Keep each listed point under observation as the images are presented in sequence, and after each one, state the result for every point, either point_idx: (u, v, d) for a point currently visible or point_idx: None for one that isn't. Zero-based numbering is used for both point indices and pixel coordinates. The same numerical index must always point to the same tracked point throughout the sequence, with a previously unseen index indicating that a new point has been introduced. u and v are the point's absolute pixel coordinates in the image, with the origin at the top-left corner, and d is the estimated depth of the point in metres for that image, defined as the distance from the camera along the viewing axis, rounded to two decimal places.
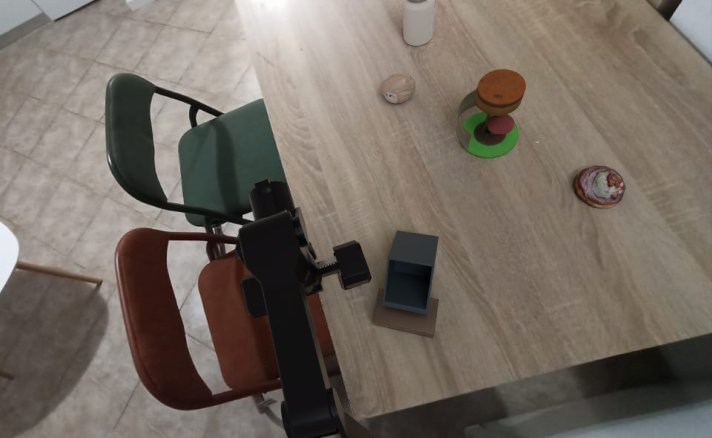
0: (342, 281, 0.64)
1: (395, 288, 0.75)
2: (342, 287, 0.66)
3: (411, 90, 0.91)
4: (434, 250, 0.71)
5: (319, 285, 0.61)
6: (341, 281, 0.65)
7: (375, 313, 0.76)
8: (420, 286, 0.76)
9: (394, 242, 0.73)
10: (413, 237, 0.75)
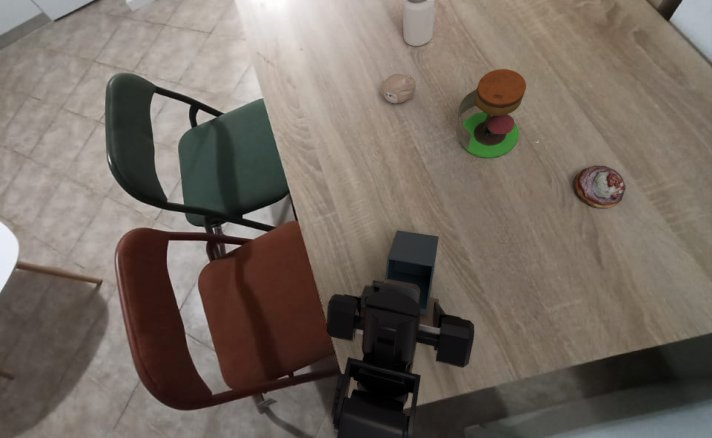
0: None
1: None
2: None
3: (411, 90, 0.91)
4: (434, 250, 0.71)
5: None
6: None
7: None
8: (420, 286, 0.76)
9: (394, 242, 0.73)
10: (413, 237, 0.75)
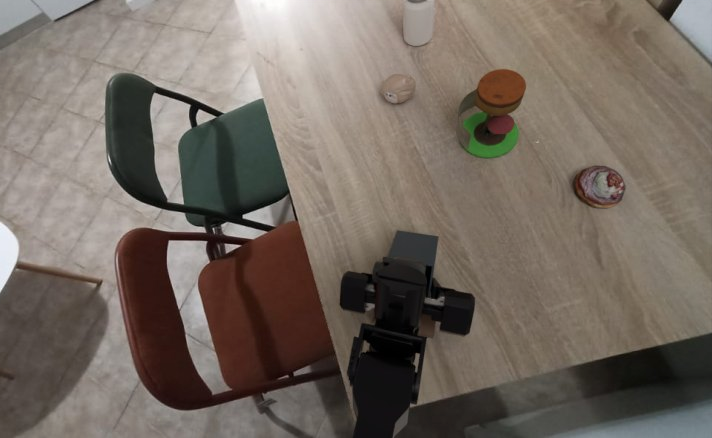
0: None
1: None
2: None
3: (411, 90, 0.91)
4: (434, 250, 0.71)
5: None
6: None
7: None
8: None
9: (394, 242, 0.74)
10: (413, 237, 0.75)
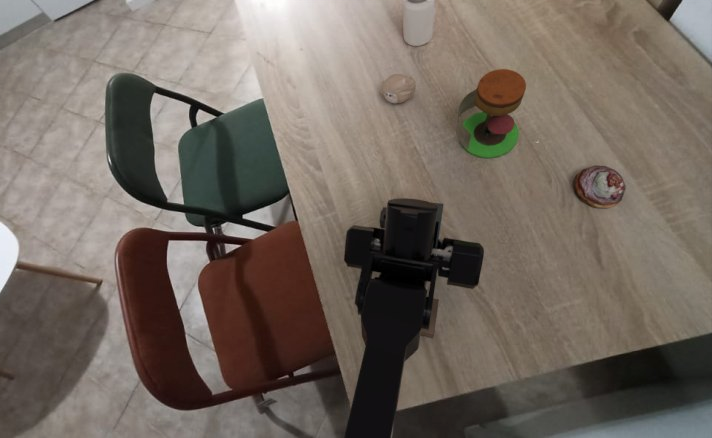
0: (439, 267, 0.64)
1: None
2: None
3: (411, 90, 0.91)
4: (440, 211, 0.70)
5: None
6: None
7: None
8: None
9: None
10: None
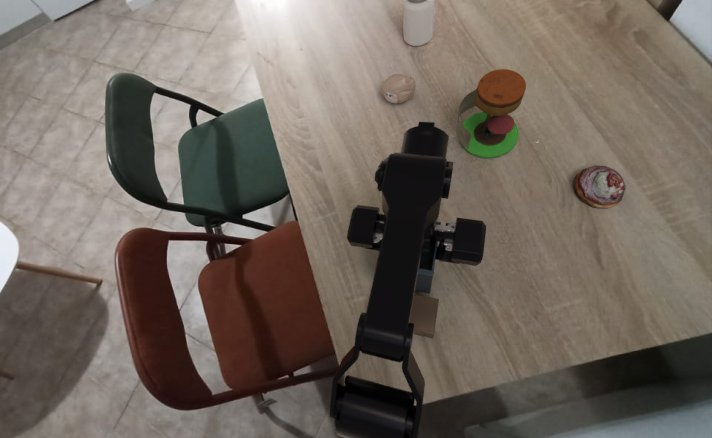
0: (442, 251, 0.63)
1: None
2: (437, 257, 0.66)
3: (411, 90, 0.91)
4: None
5: (427, 244, 0.61)
6: (440, 251, 0.65)
7: None
8: None
9: None
10: None
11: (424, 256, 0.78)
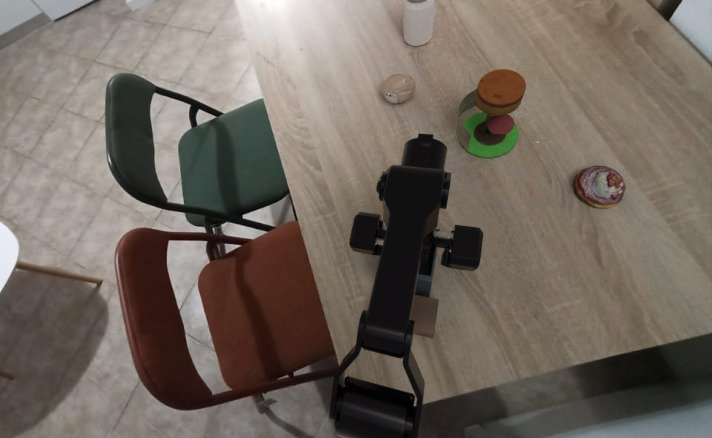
0: (447, 258, 0.66)
1: None
2: (443, 264, 0.68)
3: (411, 90, 0.91)
4: None
5: (426, 251, 0.63)
6: (446, 258, 0.67)
7: None
8: None
9: None
10: None
11: (424, 261, 0.80)
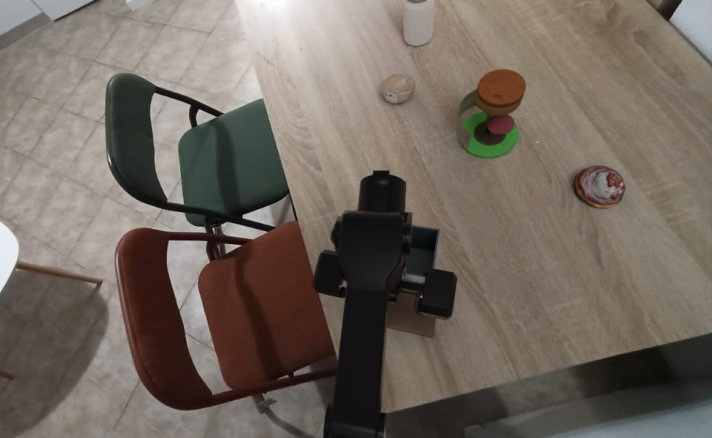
0: (419, 304, 0.59)
1: None
2: (415, 309, 0.62)
3: (411, 90, 0.91)
4: (436, 239, 0.76)
5: (394, 297, 0.57)
6: (417, 303, 0.61)
7: None
8: None
9: None
10: None
11: (424, 261, 0.80)
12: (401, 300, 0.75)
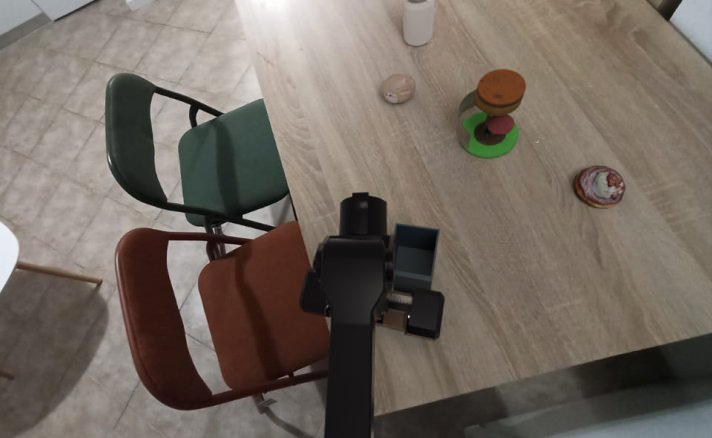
0: (406, 324, 0.59)
1: None
2: (403, 327, 0.61)
3: (411, 90, 0.91)
4: (436, 239, 0.76)
5: (381, 318, 0.56)
6: (405, 322, 0.60)
7: None
8: None
9: (398, 235, 0.79)
10: None
11: (424, 261, 0.80)
12: None
